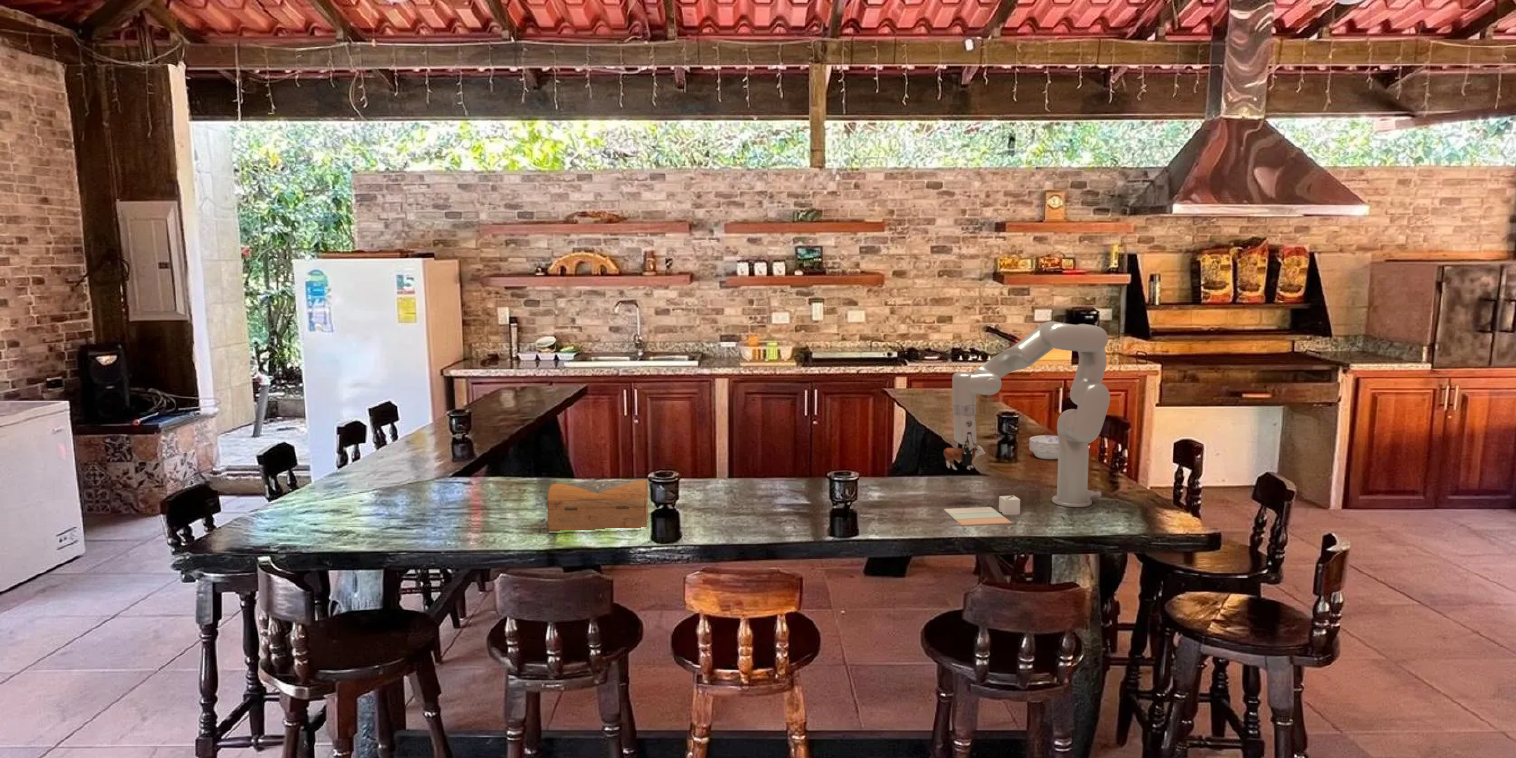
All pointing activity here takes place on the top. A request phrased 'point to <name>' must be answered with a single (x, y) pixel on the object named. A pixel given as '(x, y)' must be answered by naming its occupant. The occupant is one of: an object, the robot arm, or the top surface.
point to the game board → (977, 516)
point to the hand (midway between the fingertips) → (964, 463)
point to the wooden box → (598, 505)
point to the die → (1009, 505)
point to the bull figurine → (957, 455)
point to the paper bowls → (1044, 446)
